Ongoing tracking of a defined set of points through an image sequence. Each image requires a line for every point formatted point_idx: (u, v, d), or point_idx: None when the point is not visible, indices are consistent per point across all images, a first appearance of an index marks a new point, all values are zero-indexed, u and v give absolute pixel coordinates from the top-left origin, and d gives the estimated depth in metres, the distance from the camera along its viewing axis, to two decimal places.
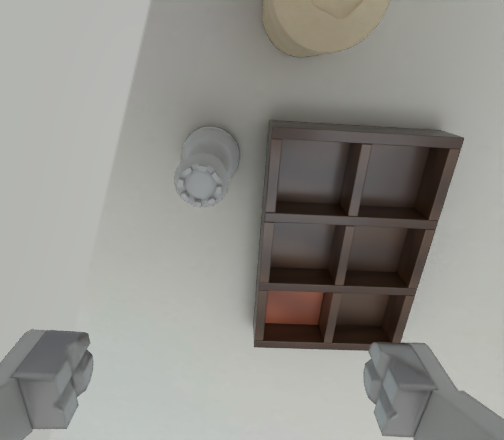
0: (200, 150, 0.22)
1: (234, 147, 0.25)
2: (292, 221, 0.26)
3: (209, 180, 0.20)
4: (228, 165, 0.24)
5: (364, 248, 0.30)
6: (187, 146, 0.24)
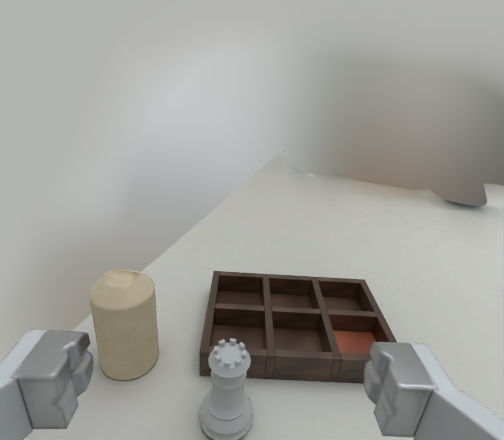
0: (213, 390, 0.27)
1: None
2: (272, 338, 0.34)
3: (226, 347, 0.26)
4: None
5: None
6: (213, 422, 0.27)
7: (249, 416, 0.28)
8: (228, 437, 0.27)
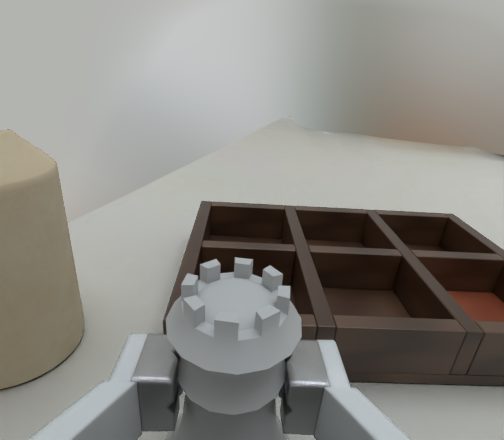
0: (185, 414, 0.09)
1: None
2: (322, 294, 0.16)
3: (223, 282, 0.08)
4: None
5: None
6: None
7: None
8: None
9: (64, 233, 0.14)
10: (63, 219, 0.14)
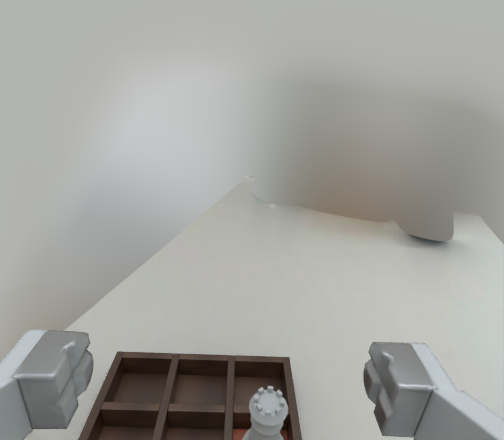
0: (252, 434, 0.29)
1: None
2: None
3: (264, 395, 0.28)
4: None
5: (204, 402, 0.36)
6: None
7: None
8: None
9: None
10: None
